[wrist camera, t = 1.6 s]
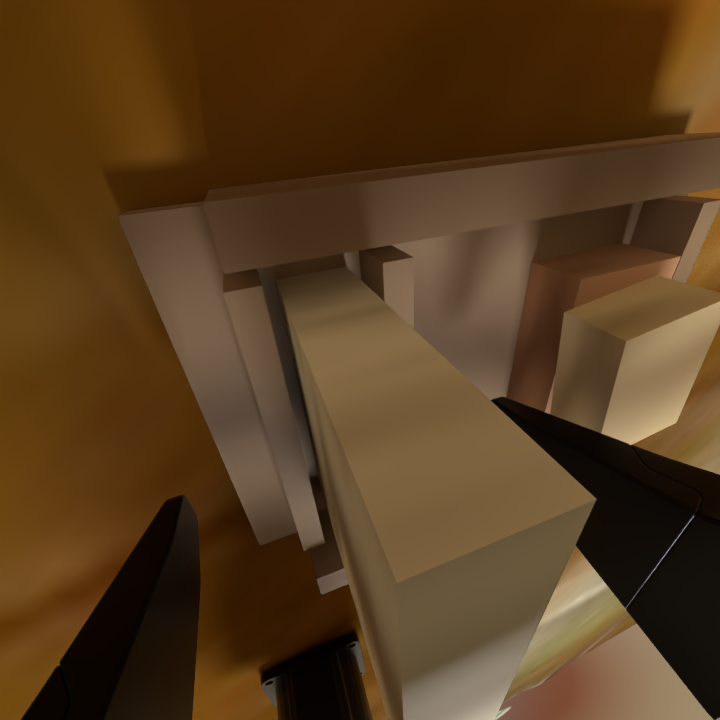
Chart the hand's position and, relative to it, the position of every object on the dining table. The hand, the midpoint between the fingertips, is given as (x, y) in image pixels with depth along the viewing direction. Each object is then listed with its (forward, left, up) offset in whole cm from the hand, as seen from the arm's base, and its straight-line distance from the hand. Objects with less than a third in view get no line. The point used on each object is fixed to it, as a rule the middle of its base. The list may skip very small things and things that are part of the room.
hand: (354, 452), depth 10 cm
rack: (0, -5, -3) cm, 6 cm away
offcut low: (0, -10, -2) cm, 10 cm away
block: (0, 0, -2) cm, 2 cm away
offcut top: (0, -9, 0) cm, 9 cm away
